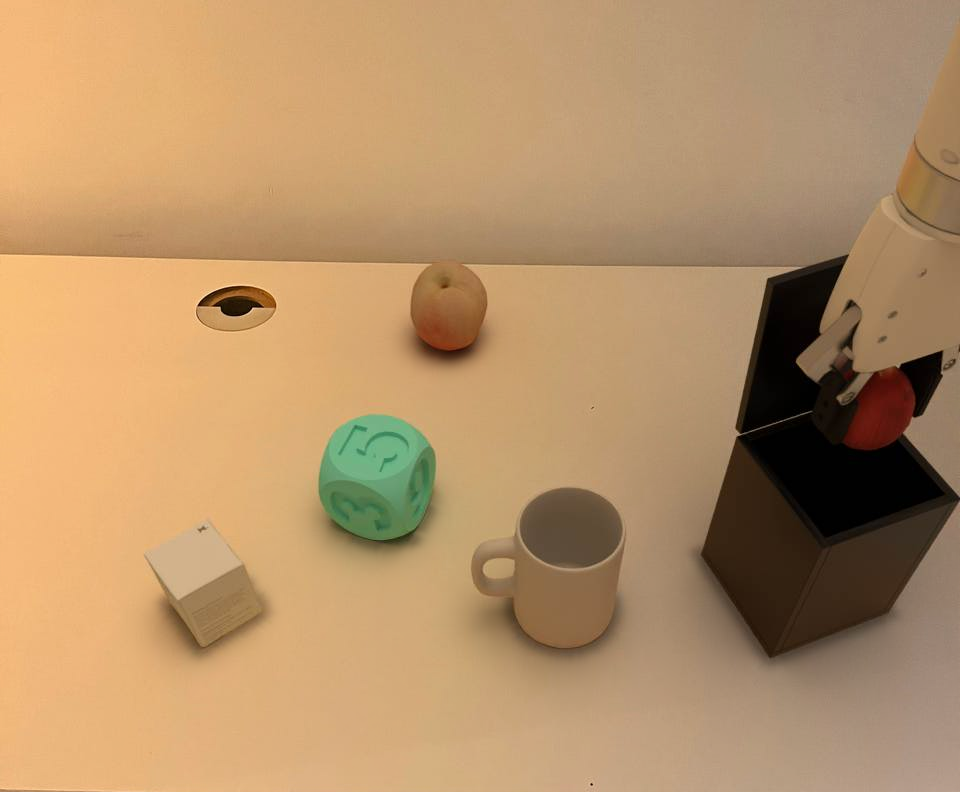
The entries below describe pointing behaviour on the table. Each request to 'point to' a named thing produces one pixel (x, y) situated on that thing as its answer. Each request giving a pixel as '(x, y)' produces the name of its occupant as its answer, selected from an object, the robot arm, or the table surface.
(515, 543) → the mug
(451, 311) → the fruit
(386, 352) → the table surface
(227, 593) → the product box
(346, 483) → the decorative dice
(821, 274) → the lid
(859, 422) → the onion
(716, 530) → the dark wooden storage box
